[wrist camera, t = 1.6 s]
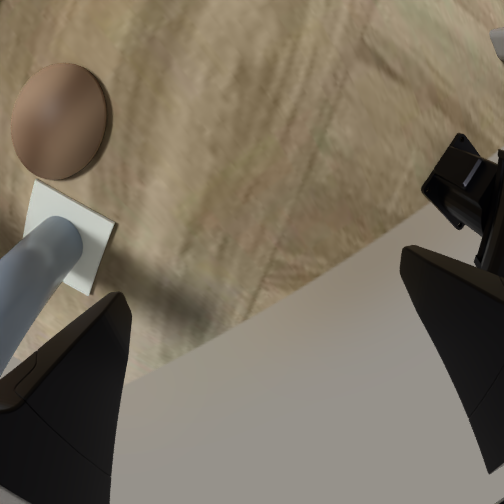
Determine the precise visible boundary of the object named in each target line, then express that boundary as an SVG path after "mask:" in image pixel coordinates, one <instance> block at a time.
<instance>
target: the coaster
mask: <svg viewBox="0 0 504 504" xmlns="http://www.w3.org/2000/svg"><path fill="white" fill-rule="evenodd" d="M106 121H107V109H106V102H105V97H104V94H103V91H102V88H101V86H100V84H99V83H98V81H97V80H96V78H95V77H94V76H93V75H92V74H91V73H90V72H89V71H87V70H86V69H85V68H83V67H81V66H78V65H75V64H69V63H57V64H52V65H49V66H47V67H45V68H43V69H41V70H39V71H38V72H37V73H35V74H34V75H33V76H32V77H31V78H30V79H29V80H28V81H27V82H26V83H25V85H24V86H23V88H22V89H21V91H20V93H19V95H18V97H17V99H16V102H15V104H14V108H13V112H12V118H11V135H12V141H13V145H14V148H15V151H16V153H17V155H18V157H19V159H20V161H21V162H22V163H23V165H24V166H25V167H26V168H27V169H28V170H29V171H30V172H32V173H33V174H35V175H36V176H38V177H41V178H44V179H49V180H59V179H64V178H67V177H69V176H71V175H73V174H75V173H77V172H78V171H80V170H81V169H83V168H84V167H85V166H86V165H87V164H88V163H89V162H90V161H91V159H92V158H93V157H94V155H95V154H96V152H97V151H98V149H99V147H100V145H101V142H102V139H103V136H104V132H105V128H106Z"/></svg>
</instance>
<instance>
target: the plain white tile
mask: <svg viewBox="0 0 504 504" xmlns="http://www.w3.org/2000/svg"><path fill="white" fill-rule="evenodd" d="M51 216H60V217H63V218H65V219H67V220H69V221H70V222H71V223H72V224H73V225H74V226H75V227H76V228H77V230H78V232H79V234H80V236H81V238H82V243H83V252H82V255H81V258H80V259H79V261H78V262H77V263H76V264H75V266H74V267H73V268H72V269H71V271H70V272H69V273H68V275H67V276H66V277H65V279H64V280H63V281H62V282H64V283H66V284H67V285H69V286H71V287H73V288H74V289H76V290H78V291H80V292H82V293H84V294H85V295H87V296H89V294H90V291H91V288H92V285H93V282H94V279H95V276H96V273H97V270H98V267H99V264H100V261H101V258H102V256H103V253H104V250H105V247H106V245H107V242H108V240H109V237H110V234H111V232H112V229H113V227H114V224H115V222H114V221H112V220H110V219H108V218H106V217H105V216H103V215H101V214H99V213H97V212H95V211H94V210H92V209H90V208H88V207H86V206H84V205H83V204H81V203H79V202H77V201H75V200H74V199H72V198H70V197H68V196H67V195H65V194H63V193H61V192H59V191H58V190H56V189H54V188H52V187H51V186H49V185H47V184H45V183H44V182H42V181H40V180H38V179H36V180H35V182H34V186H33V190H32V194H31V199H30V203H29V208H28V212H27V217H26V223H25V228H24V234H23V238H24V237H25V236H26V235H27V234H29V233H30V232H31V231H32V230H33V229H34V228H36V227H37V226H38V225H39V224H40V223H42V222H43V221H44V220H45V219H47V218H48V217H51Z"/></svg>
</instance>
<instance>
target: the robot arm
mask: <svg viewBox="0 0 504 504" xmlns="http://www.w3.org/2000/svg"><path fill="white" fill-rule="evenodd" d="M460 138H461V141H460ZM498 157H499V159H498V164H496V163H494V162H492V161H489V160H487V159H484V158H482V157H481V156H480V155H479V154H478V152H477V151H476V149H475V148H474V147H473V145H472V144H471V143H470V141H469V140H468V139H467V137H466V136H465V135H464V134H462V133H457V135H456V136H455V138H454V139H453V141H452V142H451V144H450V145H449V147H448V148H447V150H446V151H445V153H444V154H443V156H442V157H441V159H440V160H439V162H438V163H437V165H436V166H435V168H434V170H433V171H432V173H431V174H430V176H429V177H428V178H427V180H426V181H425V183H424V184H423V186H422V188H421V191H422V193H423V194H424V195H425V196H426V197H427V198H428V199H429V200H430V201H431V202H432V203H433V204H434V205H435V206H436V208H437V209H438V210H439V211H440V212H441V213H442V214H443V215H444V216H445V217H446V218H447V219H448V220H449V221H450V223H451V224H452V225H453V226H454V227H455V228H456V229H458V230H461V229H462V228H463V227H464V225H467V226H468V227H470V228H471V229H472V230H474V231H475V232H476V233H478V234H479V235H480V236H482V241H481V244H480V247H479V251H478V254H477V255H476V257H475V260H474V263H475V265H476V267H474V266H471V265H469V264H466V263H463V262H461V261H458V260H456V259H453V258H450V257H447V256H445V255H442V254H439V253H436V252H433V251H430V250H427V249H424V248H422V247H419V246H416V245H411V246H406V247H404V248H403V249H402V254H401V262H400V275H401V278H402V280H403V282H404V284H405V286H406V289H407V291H408V293H409V295H410V298H411V300H412V302H413V305H414V307H415V309H416V311H417V313H418V315H419V317H420V319H421V321H422V322H423V324H424V326H425V328H426V330H427V332H428V333H429V335H430V337H431V339H432V341H433V343H434V345H435V347H436V349H437V351H438V353H439V355H440V357H441V359H442V361H443V363H444V365H445V367H446V369H447V371H448V373H449V375H450V378H451V380H452V382H453V384H454V386H455V388H456V391H457V393H458V395H459V397H460V400H461V402H462V404H463V407H464V409H465V411H466V414H467V416H468V418H469V422H470V424H471V427H472V429H473V432H474V434H475V437H476V440H477V442H478V445H479V448H480V451H481V454H482V456H483V459H484V462H485V465H486V468H487V471H488V473H489V474H491V473H493V472H494V471H496V470H497V469H499V468H500V467H502V466H503V465H504V150H501V149H498ZM427 188H428V191H427V192H426V190H427ZM459 223H460V224H459ZM131 324H132V313H131V310H130V308H129V306H128V304H127V301H126V299H125V297H124V295H123V293H122V292H111V293H109V294H107V295H106V296H105V297H103V298H102V299H101V300H99V301H98V302H97V303H95V304H94V305H93V306H92V307H90V308H89V309H88V310H86V311H85V312H84V313H83V314H81V315H80V316H79V317H77V318H76V319H75V320H74V321H72V322H71V323H70V324H69V325H67V326H66V327H65V328H64V329H62V330H61V331H60V332H59V333H57V334H56V335H55V336H54V337H52V338H51V339H50V340H49V341H48V342H46V343H45V344H44V345H43V346H41V347H40V348H39V349H38V351H35V352H34V353H33V354H32V355H31V356H29V357H28V358H27V359H26V360H24V361H23V362H22V363H21V364H20V365H18V366H17V367H16V368H14V369H13V370H12V371H11V372H9V373H8V374H7V375H6V376H4V377H3V378H1V379H0V504H110V487H111V473H112V461H113V453H114V444H115V436H116V428H117V421H118V413H119V407H120V401H121V394H122V388H123V383H124V378H125V372H126V367H127V361H128V355H129V344H130V334H131ZM495 504H504V498H502V499H501V500H500V501H498V502H496V503H495Z"/></svg>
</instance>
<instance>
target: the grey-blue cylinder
mask: <svg viewBox="0 0 504 504" xmlns="http://www.w3.org/2000/svg"><path fill="white" fill-rule="evenodd" d="M82 252H83V243H82V238H81V236H80V234H79V232H78V230H77V228H76V227H75V226H74V225H73V224H72V223H71V222H70V221H69V220H67V219H65V218H63V217H60V216H51V217H48V218H47V219H45V220H44V221H43V222H42V223H40V224H39V225H38V226H37V227H36V228H34V229H33V230H32V231H31V232H30V233H29V234H27V235H26V236H25V237H24V238H23V239H22V240H21V241H19V242H18V243H17V244H16V245H15V246H14V247H13V248H12V249H11V250H9V251H8V252H7V253H6V254H5V255H4V256H3V257H2V258H1V259H0V377H1V375H2V373H3V371H4V369H5V368H6V366H7V364H8V362H9V361H10V359H11V357H12V356H13V354H14V352H15V351H16V349H17V347H18V346H19V344H20V342H21V341H22V339H23V338H24V336H25V335H26V333H27V331H28V330H29V328H30V327H31V325H32V324H33V322H34V321H35V319H36V318H37V316H38V315H39V313H40V312H41V310H42V309H43V308H44V306H45V305H46V303H47V302H48V300H49V299H50V298H51V296H52V295H53V293H54V292H55V291H56V289H57V288H58V287H59V285H60V284H61V283H62V281H63V280H64V279H65V277H66V276H67V275H68V273H69V272H70V271H71V269H72V268H73V267H74V266H75V264H76V263H77V262H78V261H79V259H80V258H81V255H82Z"/></svg>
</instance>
